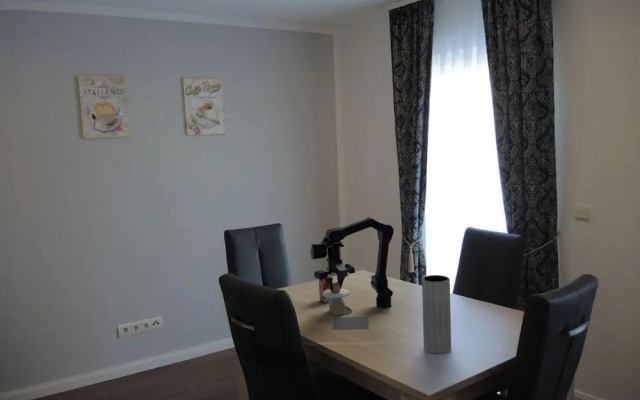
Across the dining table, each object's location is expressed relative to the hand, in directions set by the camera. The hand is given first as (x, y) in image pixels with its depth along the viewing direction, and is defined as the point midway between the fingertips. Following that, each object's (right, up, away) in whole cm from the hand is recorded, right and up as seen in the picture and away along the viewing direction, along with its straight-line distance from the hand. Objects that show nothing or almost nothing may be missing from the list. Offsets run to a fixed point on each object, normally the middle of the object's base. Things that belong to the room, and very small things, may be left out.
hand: (335, 290), depth 243 cm
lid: (0, -2, 0) cm, 2 cm away
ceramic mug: (+2, -11, +1) cm, 11 cm away
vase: (+37, -15, -44) cm, 59 cm away
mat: (+6, -12, -14) cm, 20 cm away
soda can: (-4, -9, +22) cm, 24 cm away
